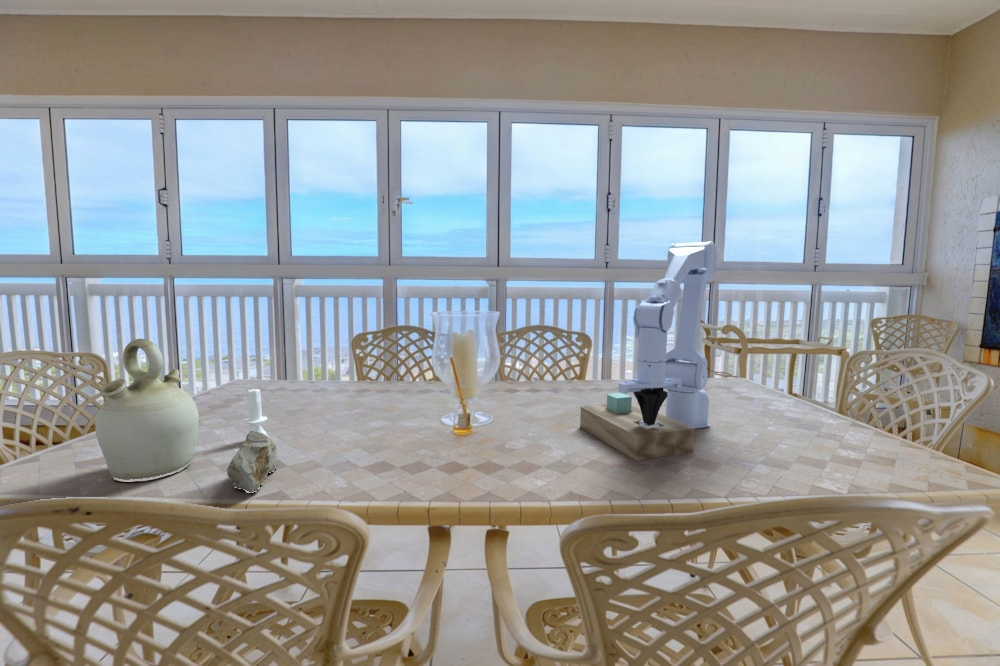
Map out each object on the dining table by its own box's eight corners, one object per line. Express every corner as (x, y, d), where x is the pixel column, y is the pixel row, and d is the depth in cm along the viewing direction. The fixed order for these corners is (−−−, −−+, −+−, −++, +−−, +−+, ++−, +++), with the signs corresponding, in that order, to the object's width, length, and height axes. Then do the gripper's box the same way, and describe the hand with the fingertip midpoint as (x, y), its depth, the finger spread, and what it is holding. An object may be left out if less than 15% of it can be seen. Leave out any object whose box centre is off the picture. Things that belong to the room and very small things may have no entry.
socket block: (629, 420, 117) (629, 401, 117) (693, 451, 97) (694, 428, 96) (580, 427, 112) (580, 406, 112) (636, 460, 92) (637, 436, 91)
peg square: (620, 413, 112) (621, 392, 111) (631, 417, 108) (631, 396, 107) (606, 414, 110) (607, 394, 110) (616, 419, 107) (616, 398, 106)
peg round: (649, 441, 102) (650, 419, 101) (662, 447, 98) (663, 425, 98) (634, 443, 101) (635, 421, 100) (646, 450, 97) (647, 427, 96)
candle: (274, 440, 104) (271, 387, 102) (248, 446, 100) (244, 391, 99) (264, 434, 108) (261, 383, 106) (239, 440, 104) (236, 387, 102)
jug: (122, 495, 78) (106, 347, 75) (86, 475, 86) (71, 340, 83) (217, 464, 90) (207, 336, 87) (179, 449, 99) (168, 331, 96)
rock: (244, 461, 89) (242, 418, 85) (280, 464, 90) (280, 421, 86) (215, 510, 78) (211, 463, 74) (257, 512, 79) (255, 466, 75)
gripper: (666, 355, 103) (664, 414, 105) (610, 359, 98) (608, 421, 100) (689, 360, 97) (686, 423, 98) (630, 365, 92) (628, 431, 93)
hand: (648, 423), depth 99 cm, fingers closed, pressing on peg round
